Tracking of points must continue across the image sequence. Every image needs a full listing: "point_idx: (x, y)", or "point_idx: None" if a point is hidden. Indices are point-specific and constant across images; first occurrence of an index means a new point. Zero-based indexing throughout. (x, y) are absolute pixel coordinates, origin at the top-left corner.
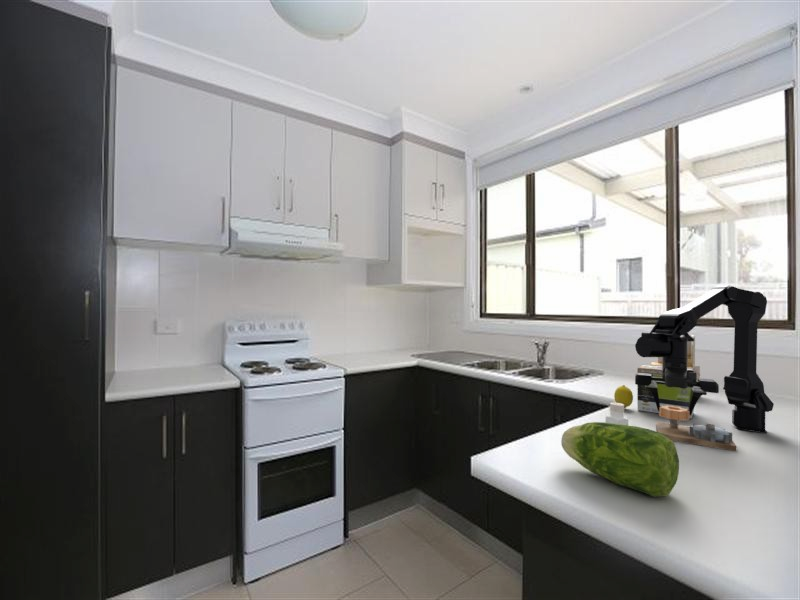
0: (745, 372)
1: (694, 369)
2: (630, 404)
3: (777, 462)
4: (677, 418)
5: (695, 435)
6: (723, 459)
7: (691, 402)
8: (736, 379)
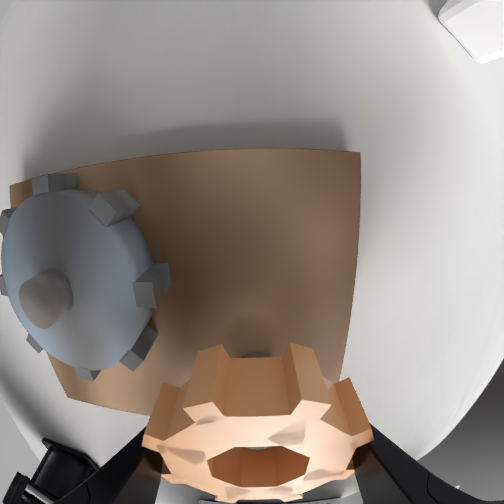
0: None
1: None
2: None
3: None
4: (234, 364)
5: (133, 206)
6: (88, 18)
7: (103, 501)
8: None
